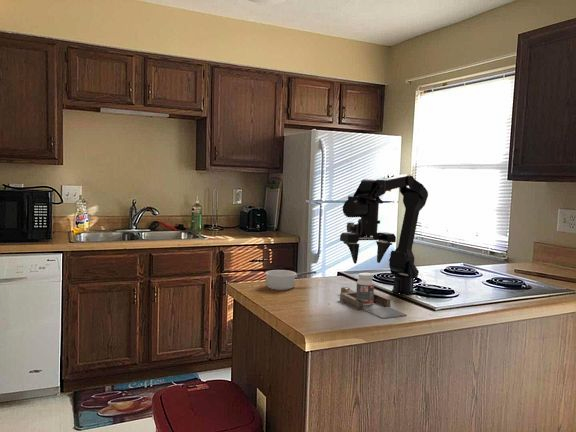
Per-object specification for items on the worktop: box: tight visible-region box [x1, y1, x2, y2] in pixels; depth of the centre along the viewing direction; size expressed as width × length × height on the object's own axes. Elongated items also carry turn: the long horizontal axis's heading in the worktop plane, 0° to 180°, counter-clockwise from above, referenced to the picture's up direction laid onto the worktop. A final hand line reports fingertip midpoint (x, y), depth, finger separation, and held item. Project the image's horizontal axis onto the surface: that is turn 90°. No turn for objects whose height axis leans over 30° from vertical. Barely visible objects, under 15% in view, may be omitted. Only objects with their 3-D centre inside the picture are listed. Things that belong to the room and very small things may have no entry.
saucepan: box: [264, 269, 317, 291], centre depth 181 cm, size 12×20×6 cm, turn 109°
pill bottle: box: [355, 272, 375, 306], centre depth 160 cm, size 6×6×10 cm
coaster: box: [365, 306, 408, 320], centre depth 149 cm, size 9×9×1 cm
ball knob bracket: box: [339, 286, 392, 310], centre depth 164 cm, size 12×20×2 cm, turn 24°
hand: (366, 263), depth 162 cm, fingers open, 9 cm apart
